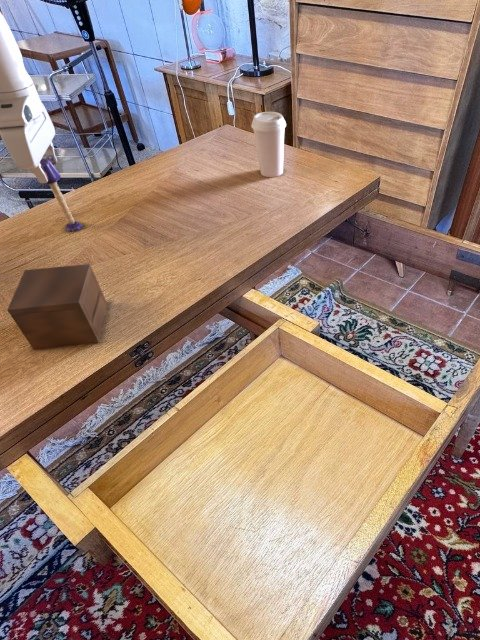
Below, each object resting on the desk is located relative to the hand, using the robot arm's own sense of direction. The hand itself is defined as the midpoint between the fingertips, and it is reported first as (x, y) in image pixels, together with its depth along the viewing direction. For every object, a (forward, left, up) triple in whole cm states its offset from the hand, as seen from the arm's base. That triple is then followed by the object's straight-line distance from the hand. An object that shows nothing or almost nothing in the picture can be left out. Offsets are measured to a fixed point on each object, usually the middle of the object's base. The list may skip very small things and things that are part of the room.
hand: (49, 172), depth 101 cm
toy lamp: (0, 0, -14) cm, 14 cm away
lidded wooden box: (+7, -39, -14) cm, 42 cm away
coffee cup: (+53, +23, -14) cm, 59 cm away
